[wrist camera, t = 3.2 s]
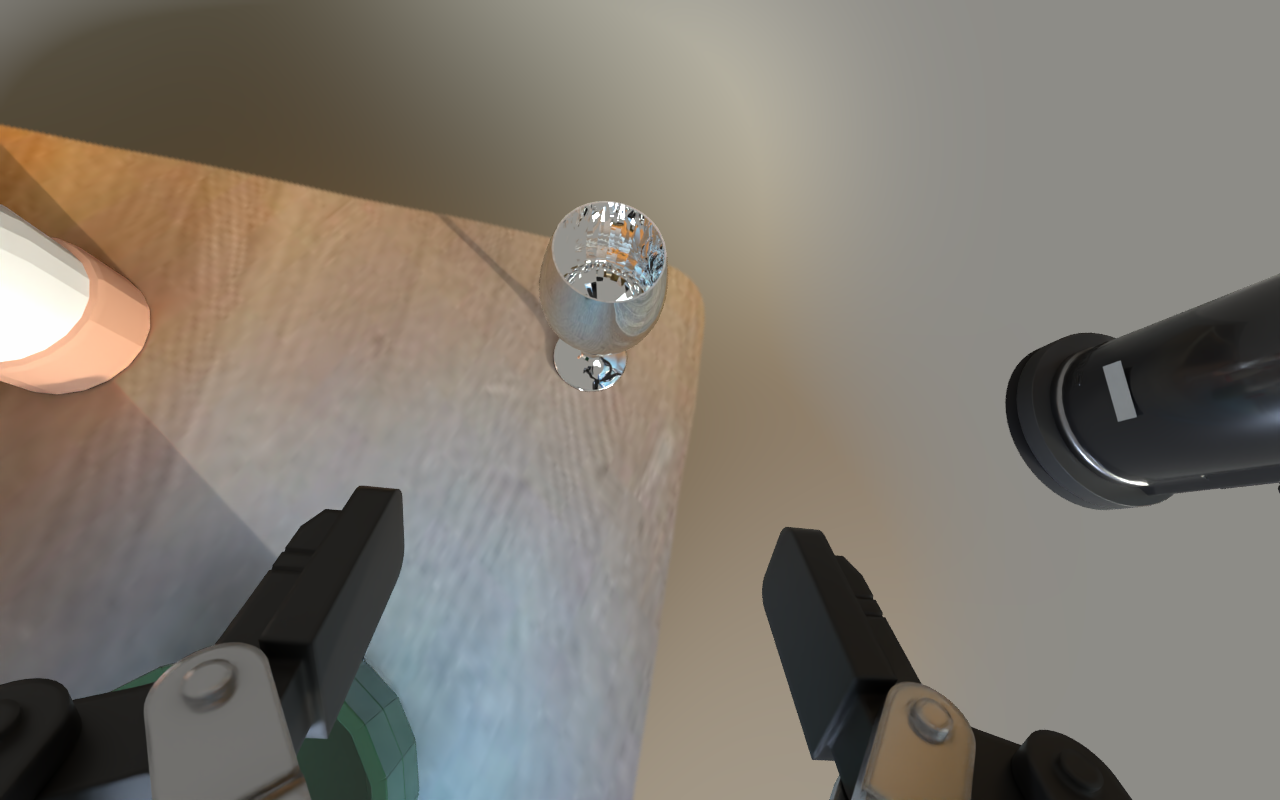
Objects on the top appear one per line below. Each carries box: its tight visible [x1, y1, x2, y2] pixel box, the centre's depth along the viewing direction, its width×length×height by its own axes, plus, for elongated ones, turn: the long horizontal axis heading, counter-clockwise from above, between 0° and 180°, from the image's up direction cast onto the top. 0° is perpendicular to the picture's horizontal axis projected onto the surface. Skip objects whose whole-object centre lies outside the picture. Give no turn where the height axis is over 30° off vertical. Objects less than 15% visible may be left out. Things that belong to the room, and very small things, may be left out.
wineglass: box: [539, 201, 668, 392], centre depth 28 cm, size 6×6×12 cm
